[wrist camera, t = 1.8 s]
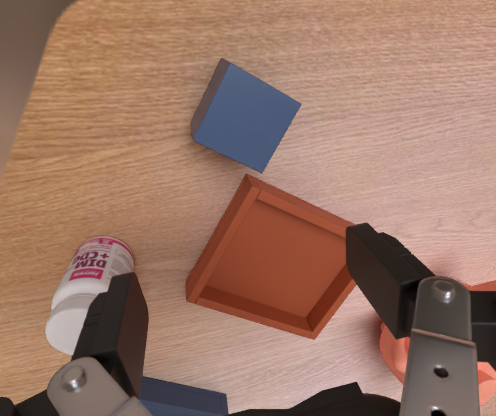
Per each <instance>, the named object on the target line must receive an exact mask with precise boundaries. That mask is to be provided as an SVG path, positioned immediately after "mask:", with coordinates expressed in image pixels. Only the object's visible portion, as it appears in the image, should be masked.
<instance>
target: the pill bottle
mask: <svg viewBox="0 0 496 416" xmlns="http://www.w3.org/2000/svg"><path fill="white" fill-rule="evenodd" d="M133 270H134V256H133V253H132V251H131V249H130V248H129V247H128V246H127V245H126V244H125V243H124V242H122V241H121V240H119V239H116V238H113V237H108V236H99V237H94V238H91V239H88V240H86V241H85V242H83V243H82V244H81V245H80V246H79V247H78V249H77V251H76V252H75V254H74V256H73V258H72V260H71V262H70V264H69V266H68V268H67V270H66V272H65V274H64V276H63V278H62V280H61V282H60V284H59V286H58V288H57V290H56V292H55V294H54V296H53V299H52V303H51V310H52V312H51V314H50V317H49V319H48V322H47V324H46V327H45V336H46V338H47V341H48V342H49V343H50V345H51V346H52V347H54V348H55V349H56V350H58V351H60V352H62V353H65V354H68V355H73V353H74V350H75V347H76V344H77V341H78V338H79V335H80V332H81V329H82V328H83V323H84V320H85V318H86V315H87V312H88V309H89V306H90V304H91V303H92V301H93V300H94V299H95V298H96V297H97V295H98V294H99V293H103V292H107V291H108V288H109V284H110V281H111V278H112V276H115V275H120V274H125V273H129V272H133Z"/></svg>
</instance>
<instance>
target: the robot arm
mask: <svg viewBox="0 0 496 416" xmlns="http://www.w3.org/2000/svg"><path fill="white" fill-rule="evenodd" d="M346 264H347V268H348V271H349V273H350V275H351V277H352V278H353V280H354V281H355V283H356V284H357V285H358V287H359V288H360V290H361V291H362V292H363V294H364V295H365V297H366V298H367V299H368V301H369V302H370V304H371V305H372V307H373V308H374V309H375V311H376V312H377V314H378V315H379V316H380V318H381V319H382V321H383V322H384V323H385V325H386V326H387V328H388V329H389V331H390V332H391V333H392V335H393V336H394V338H395V339H396V340H397V339H401V338H405V337H409V338H410V343H409V350H408V357H407V364H406V371H405V378H404V385H403V392H402V399H401V403H400V402H398V401H396V400H394V399H391V398H388V397H385V396H380V395H376V394H368V393H362V391H361V389H360V387H359V385H358V383H357V382H354V383H350V384H346V385H342V386H338V387H334V388H331V389H327V390H323V391H321V392H319V393H317V394H316V395H314V396H312V397H310V398H308V399H307V400H305V401H303V402H301V403H299V404H298V405H296V406H294V407H292V408H290V409H248V410H244V411H241V412H237V413H233V414H229V415H225V416H480V405H479V384H478V364H477V362H488V363H489V364H490V366H491V367H492V368H493V369H494V370H495V371H496V291H470V290H468V289H467V288H466V287H465V286H464V285H463V284H461V283H460V282H458V281H456V280H453V279H451V278H447V277H441V276H435V275H434V274H433V273H432V272H431V271H430V270H429V269H428V268H427V267H426V266H425V265H424V264H423V263H422V262H421V261H419V260H418V259H417V258H416V257H415V256H414V255H413V254H411V252H410V251H409V250H408V249H407V248H404V245H402V244H401V243H400V242H399V241H398V240H397V239H396V238H394V237H392V236H390V235H388V234H386V233H384V232H382V233H377V232H376V231H375V230H374V229H373V228H372V227H371V226H370V225H369V224H368V223H362V224H357V225H352V226H348V227H347V228H346ZM148 321H149V316H148V308H147V304H146V301H145V298H144V296H143V293H142V290H141V287H140V284H139V282H138V279H137V276H136V274H135V273H134V272H129V273H125V274H120V275H115V276H112V278H111V281H110V284H109V288H108V291H107V292H103V293H99V294H98V295H97V297H96V298H95V299H94V300H93V301H92V303H91V304H90V306H89V309H88V312H87V315H86V318H85V320H84V323H83V328H82V329H81V332H80V335H79V338H78V341H77V344H76V347H75V350H74V353H73V356H72V359H71V362H69V363H67V364H66V365H64V366H63V367H62V368H60V369H59V370H58V371H57V372H56V373H55V374H54V376H53V377H52V378H51V380H50V382H49V384H48V387H47V389H46V390H45V391H43V392H41V393H39V394H37V395H35V396H33V397H31V398H29V399H27V400H25V401H23V402H21V403H19V404H17V405H14V404H13V402H12V401H11V400H10V399H9V398H6V397H0V416H153V415H152V414H151V413H150V412H149V411H148V410H147V409H146V407H145V406H144V405H143V404H142V403H141V402H140V392H141V383H142V374H143V366H144V357H145V348H146V339H147V330H148Z"/></svg>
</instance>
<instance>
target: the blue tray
mask: <svg viewBox="0 0 496 416" xmlns="http://www.w3.org/2000/svg"><path fill="white" fill-rule="evenodd" d="M140 402H141V403H142V404H143V405H144V406H145V407H146V409H147V410H148V411H149V412H150V413H151V414H152V415H153V416H225V415H229V414H228V406H227V397H226V394H223V393H218V392H213V391H208V390H204V389H199V388H194V387H190V386H185V385H180V384H175V383H171V382H166V381H161V380H156V379H152V378H147V377H142V383H141V392H140Z"/></svg>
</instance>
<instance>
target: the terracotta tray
mask: <svg viewBox="0 0 496 416" xmlns="http://www.w3.org/2000/svg"><path fill="white" fill-rule="evenodd" d="M352 225H355V224H353V223H351V222H349V221H346V220H344V219H342V218H340V217H338V216H336V215H334V214H331V213H329V212H327V211H325V210H323V209H321V208H319V207H316V206H314V205H312V204H310V203H308V202H306V201H304V200H301V199H299V198H297V197H295V196H293V195H291V194H289V193H286V192H284V191H282V190H280V189H278V188H276V187H274V186H271V185H269V184H267V183H265V182H263V181H261V180H259V179H256V178H254V177H252V176H250V175H248V174H246V176H245V178H244V180H243V181H242V183H241V185H240V187H239V188H238V190H237V192H236V194H235V196H234V197H233V199H232V201H231V203H230V205H229V206H228V208H227V210H226V212H225V214H224V215H223V217H222V219H221V221H220V222H219V224H218V226H217V228H216V230H215V231H214V233H213V235H212V237H211V239H210V240H209V242H208V244H207V246H206V248H205V249H204V251H203V253H202V255H201V256H200V258H199V260H198V262H197V264H196V265H195V267H194V269H193V271H192V273H191V274H190V276H189V278H188V280H187V282H186V299H187V301H188V302H191V303H195V304H197V305H201V306H204V307H207V308H210V309H214V310H217V311H220V312H224V313H227V314H230V315H234V316H237V317H240V318H244V319H247V320H250V321H254V322H257V323H260V324H263V325H267V326H270V327H273V328H277V329H280V330H283V331H287V332H290V333H293V334H297V335H300V336H303V337H307V338H310V339H314V340H315V338H316V337H317V336H318V335H319V333H320V332H321V331H322V329H323V328H324V327H325V325H326V324H327V323H328V321H329V320H330V319H331V317H332V316H333V315H334V313H335V312H336V311H337V310H338V308H339V307H340V306H341V304H342V303H343V302H344V300H345V299H346V298H347V296H348V295H349V294H350V292H351V291H352V290H353V288H354V287H355V286H356V283H355V281H354V280H353V278H352V277H351V275H350V273H349V271H348V268H347V264H346V228H347V227H348V226H352Z"/></svg>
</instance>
